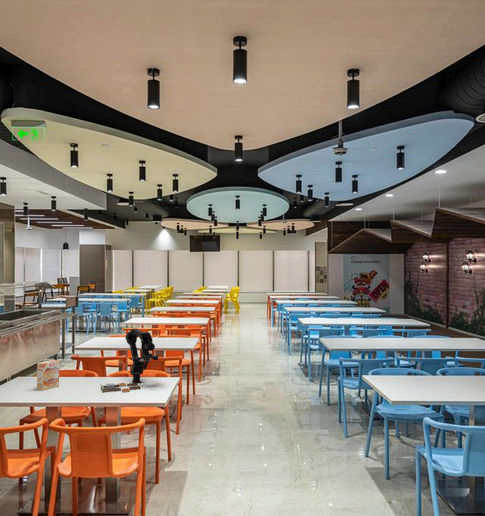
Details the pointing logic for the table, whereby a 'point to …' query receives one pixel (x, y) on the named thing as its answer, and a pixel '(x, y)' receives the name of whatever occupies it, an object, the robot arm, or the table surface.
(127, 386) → the finger box
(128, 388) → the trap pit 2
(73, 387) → the table surface
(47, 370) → the coffeecake box
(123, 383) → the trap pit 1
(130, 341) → the robot arm
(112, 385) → the slate block
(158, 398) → the table surface
